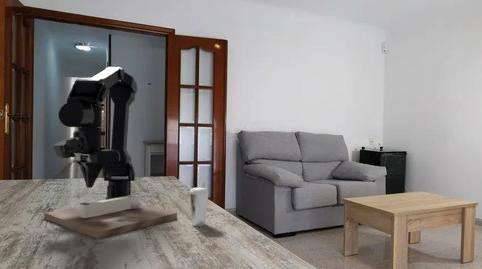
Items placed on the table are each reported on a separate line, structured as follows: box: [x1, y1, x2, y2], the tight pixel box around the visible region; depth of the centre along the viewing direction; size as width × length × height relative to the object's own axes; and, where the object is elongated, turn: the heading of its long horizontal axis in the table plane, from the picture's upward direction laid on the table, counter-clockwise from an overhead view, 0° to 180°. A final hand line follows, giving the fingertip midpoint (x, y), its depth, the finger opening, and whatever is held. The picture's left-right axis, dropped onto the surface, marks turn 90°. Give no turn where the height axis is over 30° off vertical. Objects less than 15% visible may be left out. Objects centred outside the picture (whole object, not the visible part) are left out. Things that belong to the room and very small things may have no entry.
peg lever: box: [79, 194, 141, 218], centre depth 88 cm, size 16×4×3 cm, turn 143°
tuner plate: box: [43, 203, 178, 240], centre depth 88 cm, size 22×25×2 cm
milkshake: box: [189, 181, 209, 227], centre depth 84 cm, size 4×5×10 cm
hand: (89, 187), depth 89 cm, fingers closed
